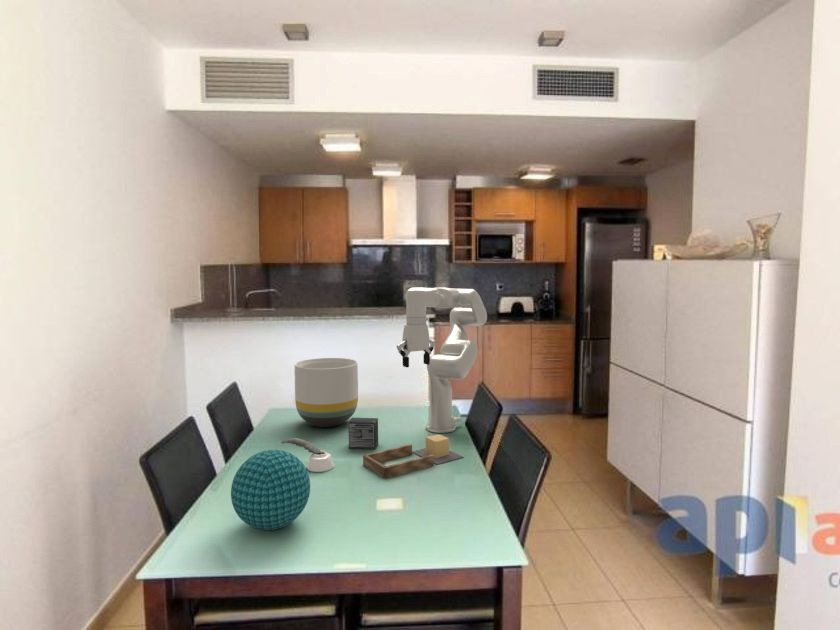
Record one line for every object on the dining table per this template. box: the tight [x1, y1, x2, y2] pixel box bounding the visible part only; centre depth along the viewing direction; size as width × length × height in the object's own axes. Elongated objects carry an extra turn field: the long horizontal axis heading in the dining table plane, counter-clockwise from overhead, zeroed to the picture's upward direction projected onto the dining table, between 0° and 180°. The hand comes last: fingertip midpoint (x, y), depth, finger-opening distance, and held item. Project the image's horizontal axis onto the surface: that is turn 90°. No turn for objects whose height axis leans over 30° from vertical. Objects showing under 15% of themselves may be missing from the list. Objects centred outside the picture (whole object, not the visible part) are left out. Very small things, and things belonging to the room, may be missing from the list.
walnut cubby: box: [362, 443, 435, 480], centre depth 180 cm, size 20×14×4 cm
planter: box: [294, 357, 359, 428], centre depth 227 cm, size 27×27×27 cm
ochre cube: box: [425, 433, 450, 458], centre depth 190 cm, size 6×6×6 cm
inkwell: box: [281, 437, 335, 473], centre depth 178 cm, size 9×18×10 cm, turn 91°
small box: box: [348, 417, 379, 450], centre depth 199 cm, size 11×6×10 cm, turn 84°
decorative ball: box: [230, 449, 311, 531], centre depth 137 cm, size 20×20×20 cm
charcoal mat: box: [412, 447, 464, 466], centre depth 190 cm, size 12×15×1 cm
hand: (416, 365), depth 201 cm, fingers open, 9 cm apart
